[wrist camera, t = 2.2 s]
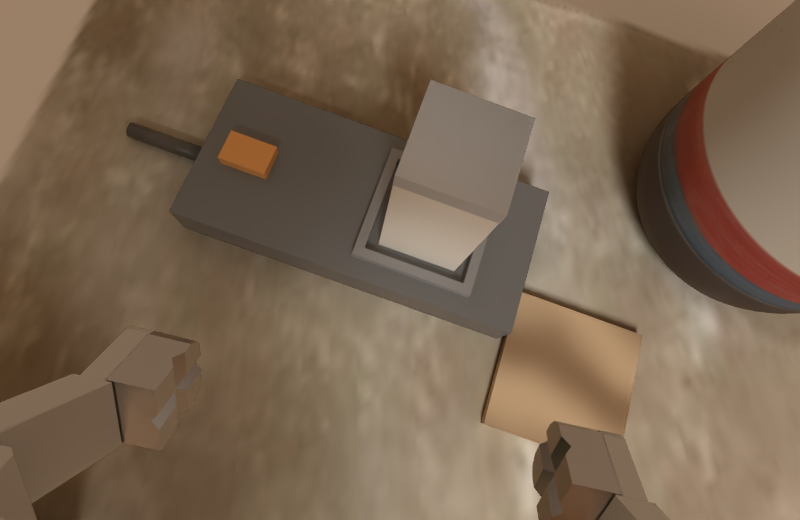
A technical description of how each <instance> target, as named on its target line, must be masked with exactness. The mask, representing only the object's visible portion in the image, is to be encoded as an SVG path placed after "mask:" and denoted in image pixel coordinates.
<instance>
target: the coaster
mask: <svg viewBox="0 0 800 520" xmlns="http://www.w3.org/2000/svg"><path fill="white" fill-rule="evenodd" d="M641 340H642V335H640V334H638V333H635V332H632V331H629V330H627V329H624V328H621V327H618V326H615V325H613V324H610V323H607V322H604V321H601V320H599V319H596V318H593V317H590V316H588V315H585V314H582V313H579V312H576V311H574V310H571V309H568V308H565V307H562V306H560V305H557V304H554V303H551V302H549V301H546V300H543V299H540V298H537V297H535V296H532V295H529V294H526V293H523V292H522V295H521V299H520V303H519V307H518V310H517V314H516V318H515V322H514V326H513V329H512V333H511V334H508V335H505V336H504V340H503V344H502V347H501V351H500V355H499V359H498V362H497V366H496V370H495V373H494V377H493V381H492V385H491V388H490V392H489V396H488V399H487V403H486V407H485V410H484V414H483V418H482V422H481V423H483V424H486V425H489V426H491V427H494V428H497V429H500V430H503V431H506V432H508V433H511V434H514V435H517V436H520V437H523V438H525V439H528V440H531V441H534V442H537V443H540V444H542V443H544V442H546V441H548V440H547V434H546V431H547V429H548V427H549V425H550V424H551V423H552V422H553V421H558V422H563V423H568V424H572V425H577V426H582V427H586V428H591V429H596V430H601V431H606V432H610V433H615V434H620V435H622V437H623V438H624V433H625V427H626V422H627V416H628V411H629V406H630V400H631V395H632V389H633V384H634V378H635V373H636V367H637V362H638V357H639V351H640V346H641Z"/></svg>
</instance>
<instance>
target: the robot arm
mask: <svg viewBox="0 0 800 520" xmlns="http://www.w3.org/2000/svg"><path fill="white" fill-rule="evenodd" d="M200 355H201V353H200V344H199V343H198V342H196V341H193V340H189V339H185V338H181V337H177V336H173V335H169V334H165V333H161V332H157V331H151V330H147V329H143V328H139V327H135V326H132V327H129V328H127V329H125V330H124V331H123V332H122V333H121V334H120V335H119V336H118V337H117V338H116V339H115V340H114V341H113V342H112V343H111V344H110V345H109V346H108V347H107V348H106V349H105V350H104V351H103V352H102V353H101V354H100V355H99V356H98V357H97V358H96V359H95V360H94V361H93V362H92V363H91V364H90V365H89V366H88V367H87V368H86V369H85V370H84V371H83V372H82V373H81V374H80V375H77V374H71V375H68V376H66V377H63V378H61V379H58V380H56V381H53V382H51V383H48V384H45V385H43V386H40V387H38V388H35V389H33V390H30V391H28V392H25V393H23V394H20V395H18V396H15V397H13V398H10V399H7V400H5V401H2V402H0V520H37V518H36V515H35V512H34V509H33V507H32V503H33V502H35V501H36V500H38V499H40V498H41V497H43V496H44V495H46V494H47V493H49V492H50V491H52V490H54V489H55V488H57V487H58V486H60V485H61V484H63V483H64V482H66V481H68V480H69V479H71V478H72V477H74V476H75V475H77V474H78V473H80V472H82V471H83V470H85V469H86V468H88V467H89V466H91V465H92V464H94V463H96V462H97V461H99V460H100V459H102V458H103V457H105V456H106V455H108V454H109V453H111V452H113V451H114V450H116V449H117V448H119V447H120V446H122V443H125V444H130V445H135V446H140V447H145V448H151V449H156V450H161V451H162V449H163V448H164V446H165V445H166V443H167V442H168V440H169V439H170V437H171V436H172V434H173V433H174V431H175V430H176V428H177V427H178V419H177V416H178V415H180V414H182V413H183V412H185V411H187V410H189V408H190V406H191V405H192V403H193V402H194V400H195V398H196V395H197V392H198V390H199V387H200V382H201V369H200V367H199V366H198V365H197V363H196V361H197V359H198V358H199V356H200ZM546 434H547V440H548V441H546V442H544V443H542V444H540V445H539V447H538V449H537V451H536V453H535V456H534V462H533V484H534V488H535V489H536V491H537V492H538V493H539V495H540V496H541V499H540V501H539V503H538V504H537V512H538V518H539V520H670V519H669V518H668V517H667V516H666V515H665V514H664V513H663V511H662V510H661V509H660V508H659V507H658V506H657V505H656V504H655V503H651V502H648V500H647V497H646V495H645V492H644V489H643V487H642V484H641V481H640V479H639V476H638V473H637V471H636V468H635V465H634V462H633V460H632V457H631V454H630V452H629V449H628V446H627V444H626V441H625V439H624V438H623V437H622V435H620V434H615V433H610V432H606V431H601V430H596V429H591V428H586V427H582V426H577V425H572V424H568V423H563V422H558V421H553V422H552V423H551V424H550V425H549V427H548V429H547V431H546Z"/></svg>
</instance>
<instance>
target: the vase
mask: <svg viewBox="0 0 800 520" xmlns="http://www.w3.org/2000/svg"><path fill="white" fill-rule="evenodd" d="M636 198H637V206H638V211H639V215H640V219H641V222H642V225H643V228H644V230H645V232H646V235H647V237H648V239H649V241H650V242H651V244H652V246H653V247H654V249H655V251H656V252H657V254H658V255H659V256H660V258H661V259H662V260H663V261H664V263H665V264H666V265H667V266H668V267H669V268H670V269H671V270H672V271H673V272H674V273H675V274H676V275H677V276H678V277H679V278H681V279H682V280H683V281H684V282H686V283H687V284H688V285H690V286H691V287H693V288H694V289H696V290H698V291H699V292H701V293H703V294H704V295H706V296H708V297H710V298H712V299H715V300H717V301H720V302H723V303H725V304H728V305H731V306H735V307H738V308H742V309H747V310H752V311H758V312H767V313H779V314H787V313H800V0H795V1H794V2H793V3H792V4H791V5H790V6H789V7H787V8H786V9H785V10H784V11H783V12H782V13H780V14H779V15H778V16H777V17H776V18H775V19H773V20H772V21H771V22H770V23H769V24H768V25H766V26H765V27H764V28H763V29H762V30H761V31H759V32H758V33H757V34H756V35H755V36H754V37H752V39H750V40H749V41H748V42H747V43H745V44H744V45H743V46H742V47H741V48H740V49H739V50H737V51H736V52H735V53H734V54H733V55H732V56H730V57H729V58H728V59H727V60H726V61H725V62H723V63H722V64H721V65H720V66H719V67H718V68H717V69H715V70H714V71H713V72H712V73H711V74H710V75H708V76H707V77H706V78H705V79H704V80H703V81H702V82H701V83H699V84H698V85H697V86H696V87H695V88H694V89H693V90H691V91H690V92H689V93H688V94H687V95H686V96H685V97H684V98H683V99H682V100H681V101H680V102H679V103H677V104H676V105H675V106H674V107H673V108H672V109H671V110H670V111H669V113H668V114H667V115H666V116H665V117H664V118H663V120H662V121H661V122H660V123H659V125H658V126H657V128H656V129H655V131H654V132H653V134H652V136H651V137H650V139H649V141H648V143H647V145H646V148H645V150H644V152H643V155H642V158H641V161H640V165H639V168H638V173H637V181H636Z"/></svg>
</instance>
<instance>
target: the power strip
mask: <svg viewBox="0 0 800 520" xmlns="http://www.w3.org/2000/svg"><path fill="white" fill-rule="evenodd" d="M126 132H127V136H128V137H131V138H134V139H136V140H139V141H142V142H145V143H147V144H150V145H153V146H156V147H159V148H161V149H164V150H167V151H170V152H173V153H175V154H178V155H181V156H184V157H186V158H189V159H192V160H195V162H194V164H193V166H192V168H191V170H190V172H189V174H188V175H187V177H186V179H185V181H184V183H183V185H182V187H181V189H180V191H179V193H178V195H177V197H176V199H175V200H174V202H173V204H172V206H171V208H170V210H169V212H170V213H171V214H172V215H173V216H174V217H175V218H176V219H177V220H178V221H179V222H180V223H181V224H182V225H183V226H184V227H185V228H188V229H191V230H193V231H196V232H199V233H202V234H205V235H207V236H210V237H213V238H216V239H219V240H222V241H224V242H227V243H230V244H233V245H236V246H238V247H241V248H244V249H247V250H250V251H252V252H255V253H258V254H261V255H264V256H266V257H269V258H272V259H275V260H278V261H280V262H283V263H286V264H289V265H292V266H294V267H297V268H300V269H303V270H306V271H309V272H311V273H314V274H317V275H320V276H323V277H325V278H328V279H331V280H334V281H337V282H339V283H342V284H345V285H348V286H351V287H353V288H356V289H359V290H362V291H365V292H367V293H370V294H373V295H376V296H379V297H381V298H384V299H387V300H390V301H393V302H396V303H398V304H401V305H404V306H407V307H410V308H412V309H415V310H418V311H421V312H424V313H426V314H429V315H432V316H435V317H438V318H440V319H443V320H446V321H449V322H452V323H454V324H457V325H460V326H463V327H466V328H468V329H471V330H474V331H477V332H480V333H483V334H485V335H488V336H491V337H494V338H499V337H502V336H505V335H508V334H511V333H512V329H513V326H514V322H515V318H516V314H517V310H518V307H519V303H520V299H521V295H522V292H523V288H524V284H525V280H526V277H527V273H528V269H529V265H530V262H531V258H532V254H533V250H534V247H535V243H536V239H537V235H538V231H539V228H540V224H541V220H542V216H543V213H544V209H545V205H546V201H547V198H548V194H549V192H548V191H545V190H542V189H540V188H537V187H534V186H531V185H529V184H526V183H523V182H520V181H518V180H517V183H516V187H515V190H514V194H513V197H512V200H511V204H510V207H509V211H508V214H507V217H506V218H505V219H504V220H503V221H502V222H501V223H500V224H498V225H497V226H496V227H495V228H494V229H493V230H492V232H491V233H490V234H489V235H488V236H487V237H486V238H485V239H484V240H483V241H482V242H481V243H480V244H479V245H478V246H477V247H476V248H475V250H474V251H473V252H472V253H471V254H470V255H469V256H468V257H467V258H466V259H465V260H464V261H463V262H462V263H461V264H460V265H459V267H458V268H457V269H456V270H455V271H452V270H449V269H446V268H443V267H441V266H438V265H435V264H432V263H429V262H427V261H424V260H421V259H418V258H415V257H413V256H410V255H407V254H404V253H401V252H399V251H396V250H393V249H390V248H388V247H385V246H382V245H379V240H380V236H381V232H382V228H383V224H384V220H385V215H386V211H387V207H388V203H389V199H390V195H391V191H392V187H393V180H394V176H395V173H396V171H397V168H398V165H399V163H400V160H401V157H402V155H403V152H404V149H405V147H406V144H407V141H408V140H405V139H402V138H400V137H397V136H394V135H391V134H389V133H386V132H383V131H380V130H378V129H375V128H372V127H369V126H367V125H364V124H361V123H358V122H356V121H353V120H350V119H347V118H345V117H342V116H339V115H336V114H334V113H331V112H328V111H325V110H323V109H320V108H317V107H314V106H312V105H309V104H306V103H303V102H301V101H298V100H295V99H292V98H290V97H287V96H284V95H281V94H279V93H276V92H273V91H270V90H268V89H265V88H262V87H259V86H257V85H254V84H251V83H248V82H246V81H243V80H240V79H237V81H236V83H235V85H234V87H233V89H232V91H231V93H230V95H229V97H228V98H227V100H226V102H225V104H224V106H223V108H222V110H221V112H220V114H219V116H218V118H217V120H216V122H215V123H214V125H213V127H212V129H211V131H210V133H209V135H208V137H207V139H206V141H205V143H204V145H203V147H199V146H197V145H194V144H191V143H188V142H185V141H183V140H180V139H177V138H174V137H172V136H169V135H166V134H163V133H160V132H158V131H155V130H152V129H149V128H147V127H144V126H141V125H138V124H135V123H130V124H129V125H128V127H127V131H126Z"/></svg>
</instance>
